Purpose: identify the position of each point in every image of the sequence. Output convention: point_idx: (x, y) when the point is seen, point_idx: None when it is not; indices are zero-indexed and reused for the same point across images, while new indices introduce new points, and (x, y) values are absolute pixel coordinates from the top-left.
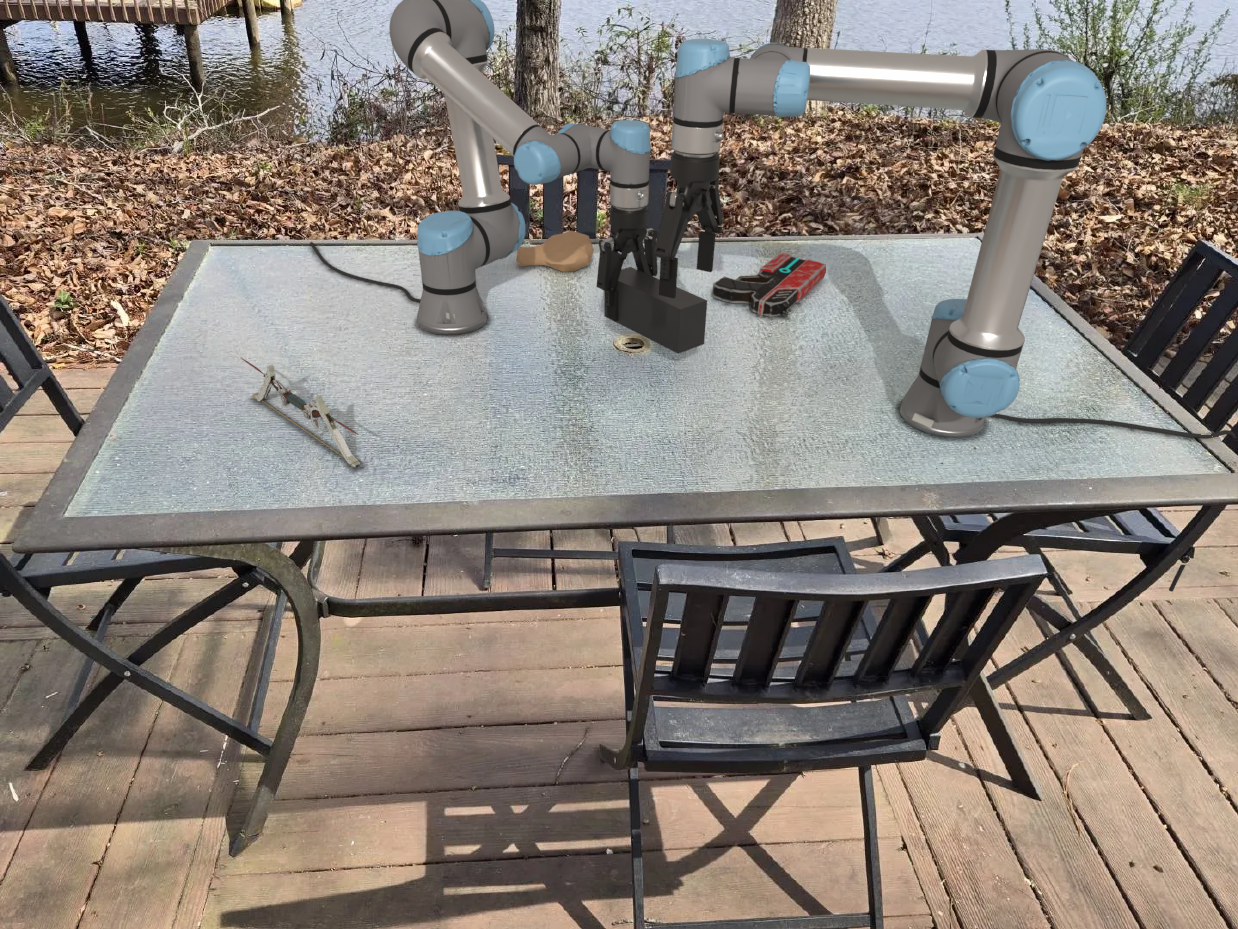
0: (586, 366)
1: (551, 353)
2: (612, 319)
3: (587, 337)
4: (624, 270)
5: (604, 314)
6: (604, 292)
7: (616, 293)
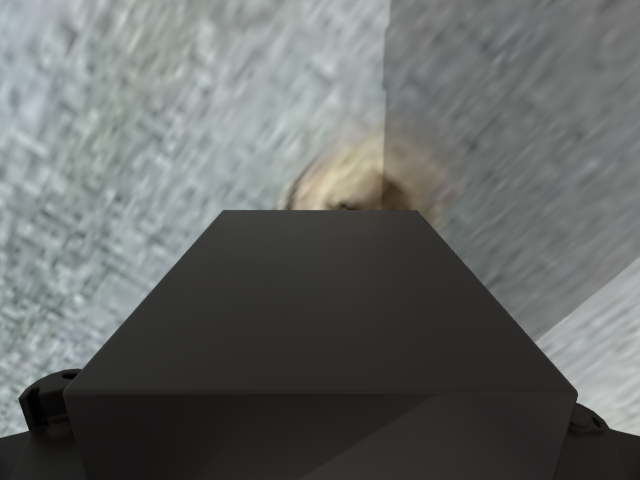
0: (110, 259)
1: (28, 91)
2: None
3: (245, 56)
4: (394, 442)
5: (220, 214)
6: (167, 273)
7: None
